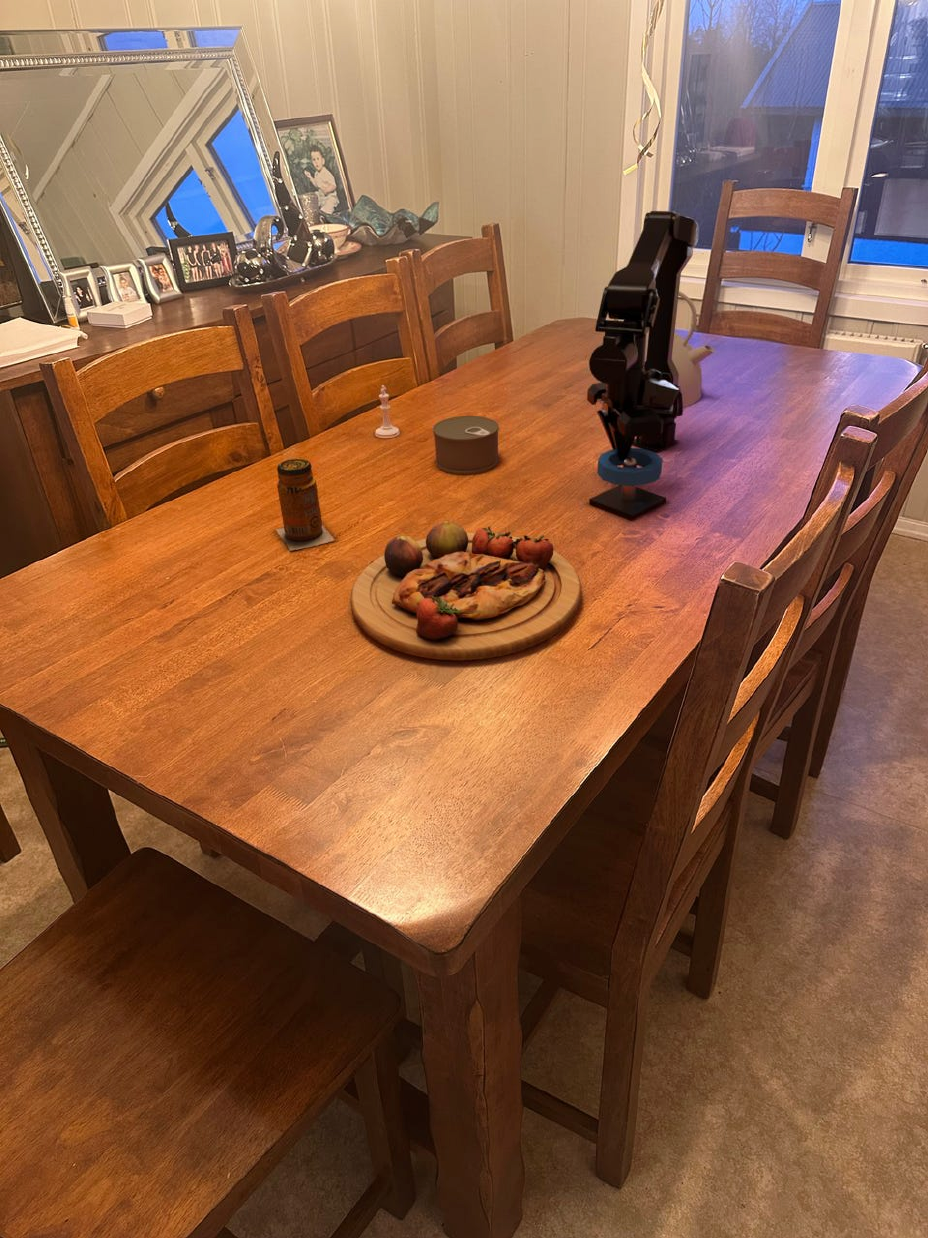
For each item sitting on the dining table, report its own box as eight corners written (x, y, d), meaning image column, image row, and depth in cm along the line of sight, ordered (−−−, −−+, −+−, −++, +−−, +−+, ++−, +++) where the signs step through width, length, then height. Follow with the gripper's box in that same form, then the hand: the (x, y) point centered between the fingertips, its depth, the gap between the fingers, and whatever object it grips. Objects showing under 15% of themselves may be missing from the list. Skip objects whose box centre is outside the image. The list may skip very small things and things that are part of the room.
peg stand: (589, 504, 145) (590, 458, 141) (623, 487, 150) (626, 443, 146) (631, 520, 139) (635, 473, 135) (666, 503, 144) (670, 457, 140)
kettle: (725, 386, 192) (739, 278, 180) (689, 418, 176) (701, 303, 164) (620, 372, 204) (626, 270, 192) (577, 401, 188) (581, 292, 176)
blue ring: (585, 474, 142) (586, 460, 141) (624, 456, 148) (625, 442, 146) (634, 491, 136) (635, 477, 135) (673, 472, 141) (674, 458, 140)
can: (467, 445, 170) (465, 410, 166) (512, 460, 162) (512, 424, 158) (422, 463, 163) (419, 428, 159) (467, 480, 155) (465, 444, 152)
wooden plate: (509, 694, 103) (508, 636, 98) (303, 624, 118) (294, 571, 113) (618, 574, 125) (621, 522, 121) (434, 528, 140) (431, 480, 136)
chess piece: (371, 436, 176) (366, 388, 170) (382, 428, 179) (377, 380, 174) (393, 439, 174) (388, 390, 168) (403, 430, 178) (399, 382, 172)
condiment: (318, 520, 144) (308, 452, 138) (335, 541, 138) (325, 470, 131) (275, 531, 142) (263, 462, 135) (290, 552, 135) (278, 481, 129)
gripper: (699, 376, 130) (689, 473, 138) (651, 343, 145) (645, 432, 154) (629, 384, 128) (623, 482, 137) (587, 350, 143) (584, 440, 152)
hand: (620, 457), depth 145 cm, fingers closed on blue ring, 2 cm apart
